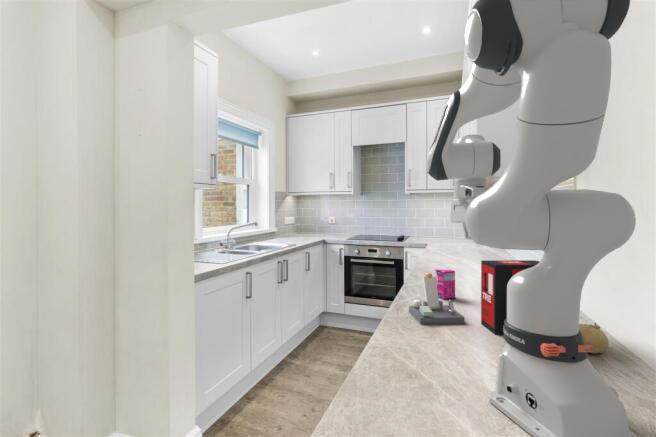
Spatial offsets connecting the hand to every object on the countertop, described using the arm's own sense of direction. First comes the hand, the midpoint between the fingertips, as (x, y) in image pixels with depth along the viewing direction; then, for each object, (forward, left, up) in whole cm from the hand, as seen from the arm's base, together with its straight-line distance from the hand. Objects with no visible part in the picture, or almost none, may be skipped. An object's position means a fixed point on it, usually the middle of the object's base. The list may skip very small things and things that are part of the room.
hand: (469, 239), depth 95 cm
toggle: (+9, +1, -24) cm, 26 cm away
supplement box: (+36, -7, -27) cm, 46 cm away
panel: (+12, +6, -27) cm, 30 cm away
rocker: (+8, +10, -24) cm, 27 cm away
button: (+16, +10, -25) cm, 32 cm away
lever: (+14, +6, -24) cm, 29 cm away
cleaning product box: (0, -14, -27) cm, 31 cm away
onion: (-15, -23, -27) cm, 39 cm away
